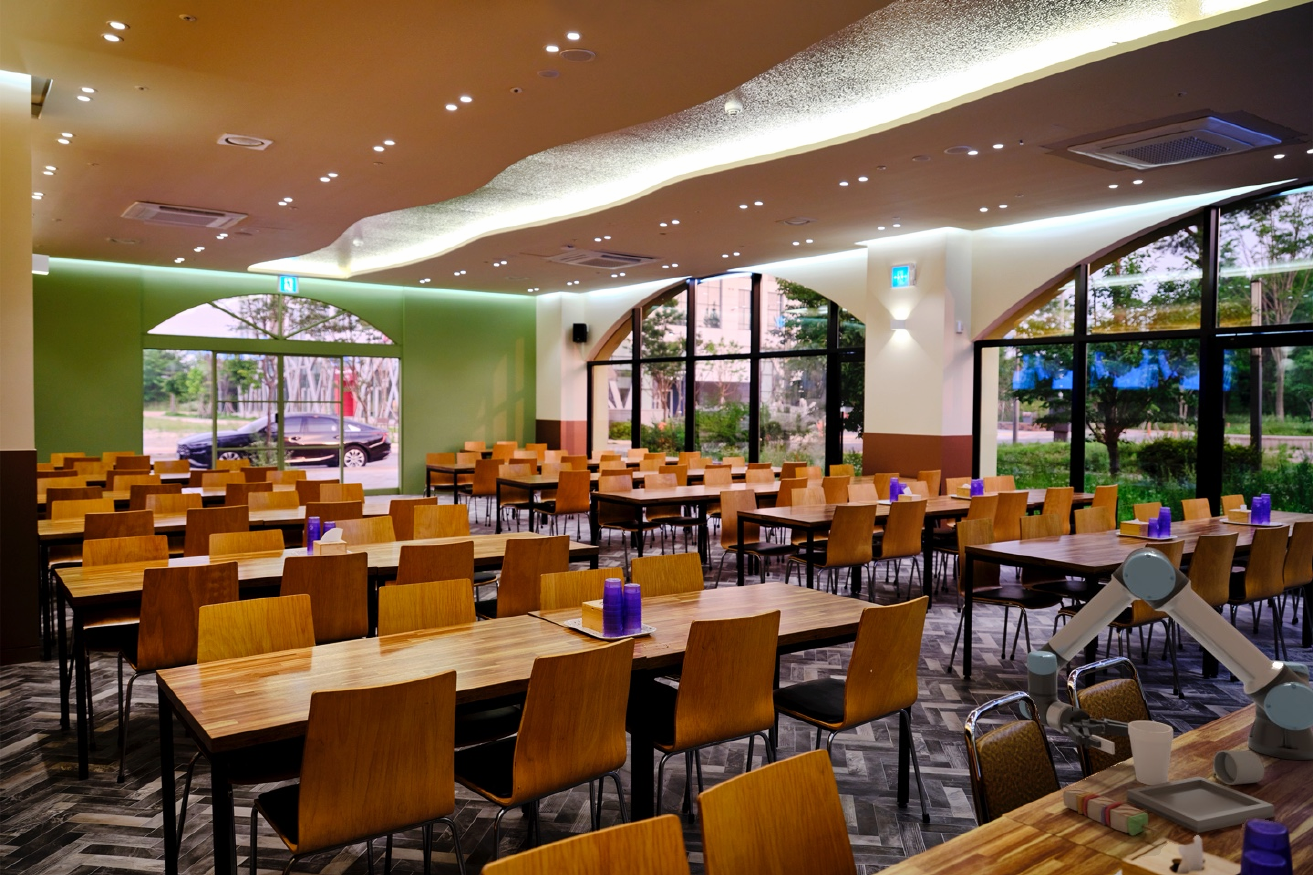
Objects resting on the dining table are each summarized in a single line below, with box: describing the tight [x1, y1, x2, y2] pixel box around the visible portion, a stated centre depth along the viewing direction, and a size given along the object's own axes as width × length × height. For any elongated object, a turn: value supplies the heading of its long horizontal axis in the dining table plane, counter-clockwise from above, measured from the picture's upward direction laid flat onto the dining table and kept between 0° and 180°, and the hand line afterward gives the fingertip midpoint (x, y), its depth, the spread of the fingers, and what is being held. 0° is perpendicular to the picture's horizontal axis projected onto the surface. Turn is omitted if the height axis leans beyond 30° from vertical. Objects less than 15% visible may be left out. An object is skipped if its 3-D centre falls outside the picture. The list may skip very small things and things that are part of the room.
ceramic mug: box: [1212, 749, 1266, 786], centre depth 216 cm, size 11×8×8 cm
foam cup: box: [1127, 720, 1174, 786], centre depth 216 cm, size 10×9×13 cm
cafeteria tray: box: [1126, 775, 1275, 834], centre depth 200 cm, size 22×18×2 cm
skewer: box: [1062, 786, 1158, 836], centre depth 193 cm, size 21×6×5 cm, turn 26°
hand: (1135, 744), depth 220 cm, fingers open, 13 cm apart
